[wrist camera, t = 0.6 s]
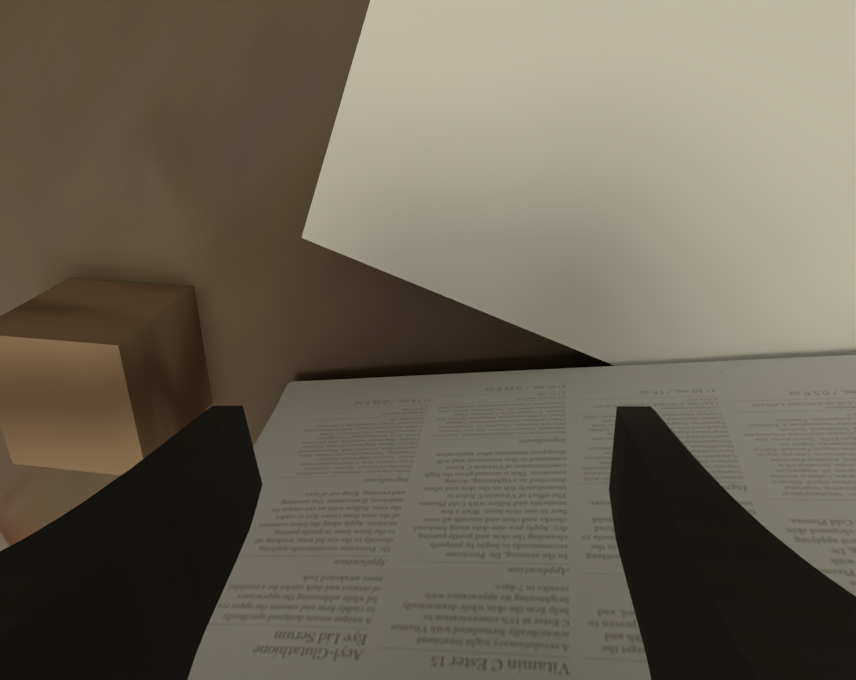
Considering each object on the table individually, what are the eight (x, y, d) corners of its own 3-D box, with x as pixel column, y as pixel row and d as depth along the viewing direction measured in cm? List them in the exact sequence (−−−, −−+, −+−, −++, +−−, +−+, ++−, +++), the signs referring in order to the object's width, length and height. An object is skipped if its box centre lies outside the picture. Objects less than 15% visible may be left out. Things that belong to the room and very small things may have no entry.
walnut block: (212, 401, 27) (147, 478, 22) (98, 391, 27) (12, 463, 23) (194, 285, 24) (117, 345, 20) (70, 277, 25) (-31, 333, 21)
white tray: (915, 478, 23) (951, 523, 21) (308, 230, 23) (286, 252, 21) (1409, -44, 16) (1542, -54, 13) (507, -444, 15) (502, -517, 13)
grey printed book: (321, 485, 28) (87, 995, 14) (287, 376, 25) (-39, 872, 12) (895, 484, 23) (1379, 1269, 9) (926, 348, 20) (1663, 1160, 7)
